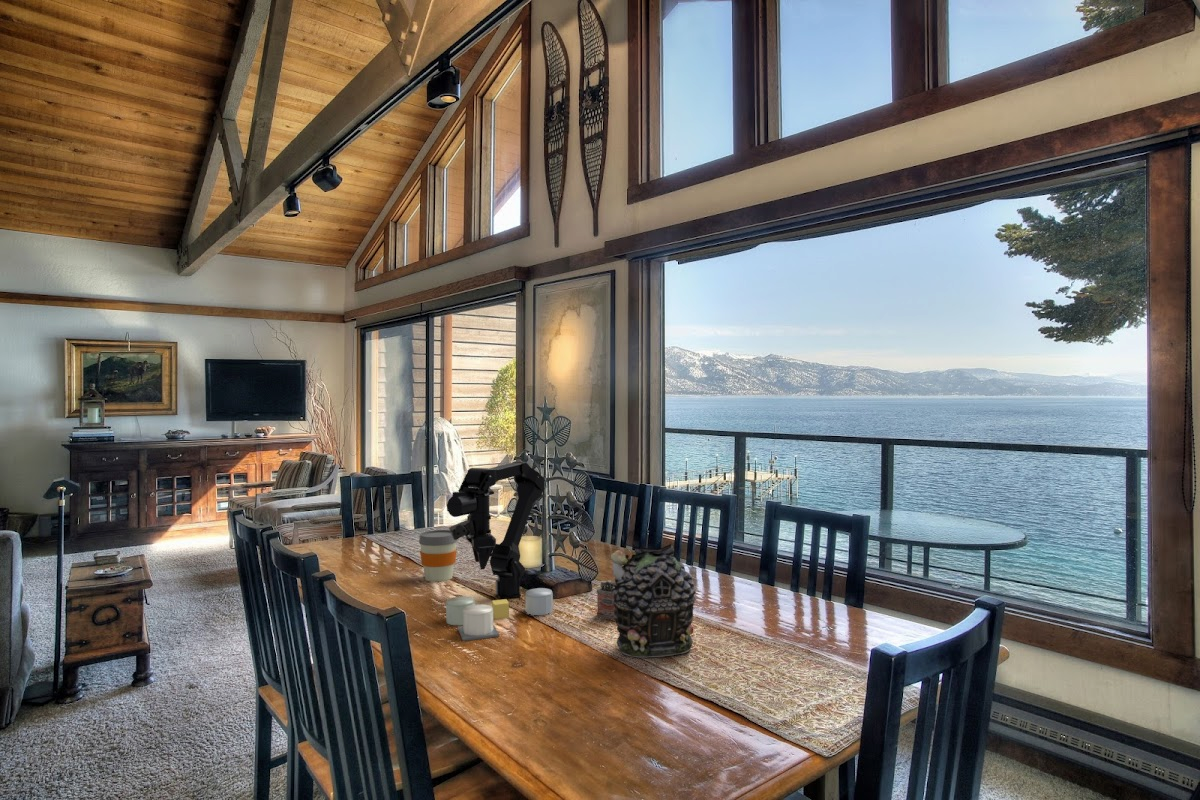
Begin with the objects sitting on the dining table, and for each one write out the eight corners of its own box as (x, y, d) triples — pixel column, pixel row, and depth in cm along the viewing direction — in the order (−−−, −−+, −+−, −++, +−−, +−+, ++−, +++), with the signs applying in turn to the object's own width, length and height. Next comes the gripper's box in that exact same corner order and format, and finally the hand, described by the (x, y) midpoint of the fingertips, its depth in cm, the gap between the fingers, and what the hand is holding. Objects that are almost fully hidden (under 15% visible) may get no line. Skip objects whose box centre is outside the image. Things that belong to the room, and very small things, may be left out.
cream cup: (490, 623, 175) (489, 603, 175) (495, 633, 168) (495, 611, 168) (461, 627, 173) (461, 606, 173) (465, 637, 166) (465, 615, 166)
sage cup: (472, 614, 184) (472, 595, 184) (476, 623, 177) (476, 602, 177) (445, 618, 182) (444, 598, 182) (448, 626, 175) (448, 605, 175)
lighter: (594, 617, 182) (594, 580, 182) (600, 613, 185) (600, 577, 185) (620, 621, 178) (620, 584, 178) (626, 617, 181) (626, 581, 181)
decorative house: (622, 666, 149) (621, 555, 148) (604, 642, 163) (603, 541, 163) (707, 656, 154) (707, 549, 154) (682, 633, 169) (682, 536, 168)
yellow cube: (506, 613, 186) (506, 599, 186) (509, 617, 182) (509, 603, 182) (492, 614, 185) (492, 600, 185) (494, 619, 181) (494, 604, 181)
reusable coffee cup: (416, 575, 226) (416, 531, 226) (453, 571, 231) (452, 528, 231) (423, 585, 214) (422, 538, 214) (461, 580, 220) (461, 535, 219)
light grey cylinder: (548, 605, 192) (548, 587, 192) (555, 613, 185) (555, 594, 185) (523, 608, 189) (523, 589, 189) (529, 616, 182) (529, 597, 182)
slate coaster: (492, 624, 176) (492, 622, 176) (498, 636, 168) (498, 634, 168) (458, 629, 173) (458, 626, 173) (463, 641, 164) (462, 638, 164)
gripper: (447, 508, 197) (447, 560, 197) (455, 519, 180) (455, 576, 180) (484, 506, 201) (485, 557, 201) (496, 516, 183) (496, 572, 184)
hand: (479, 565), depth 191 cm, fingers open, 9 cm apart
